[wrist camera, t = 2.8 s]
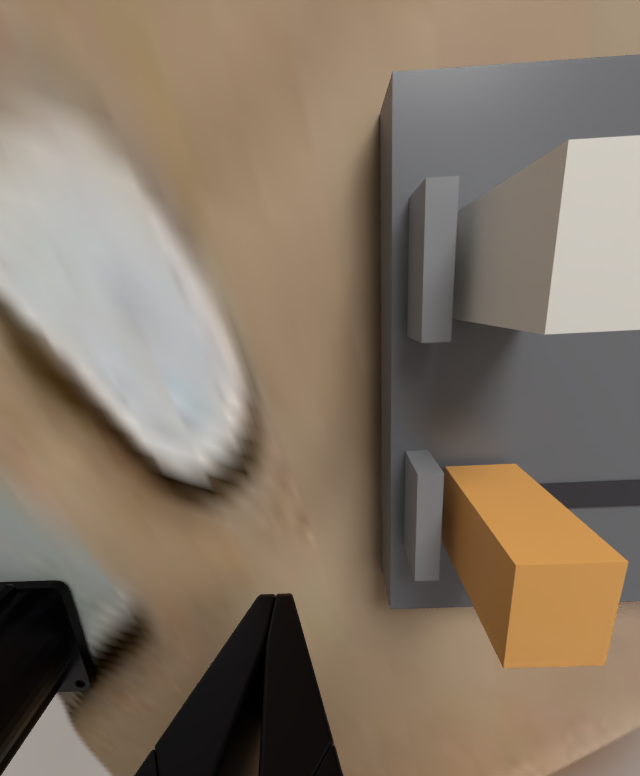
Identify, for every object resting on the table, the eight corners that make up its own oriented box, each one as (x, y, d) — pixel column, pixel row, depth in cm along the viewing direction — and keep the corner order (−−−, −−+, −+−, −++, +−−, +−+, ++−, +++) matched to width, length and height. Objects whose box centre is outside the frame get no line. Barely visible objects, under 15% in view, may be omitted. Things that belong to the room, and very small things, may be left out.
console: (714, 558, 15) (830, 636, 12) (382, 570, 15) (398, 649, 12) (862, 79, 10) (1132, -29, 7) (380, 111, 11) (407, 24, 7)
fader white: (532, 314, 10) (682, 327, 6) (452, 318, 10) (544, 334, 6) (544, 205, 9) (727, 129, 5) (458, 210, 9) (568, 139, 5)
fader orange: (507, 537, 12) (604, 665, 8) (441, 539, 12) (503, 668, 8) (515, 463, 11) (629, 561, 7) (444, 466, 12) (516, 565, 7)
